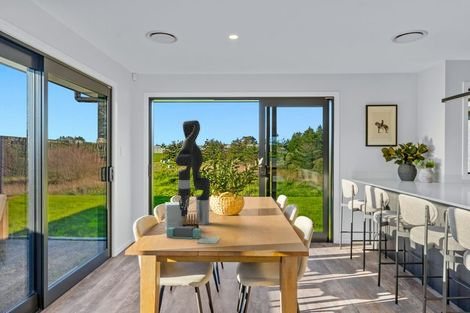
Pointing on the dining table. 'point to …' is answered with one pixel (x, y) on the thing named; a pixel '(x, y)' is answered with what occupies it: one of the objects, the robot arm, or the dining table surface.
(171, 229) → the clamp
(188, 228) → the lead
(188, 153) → the robot arm
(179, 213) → the supplement box
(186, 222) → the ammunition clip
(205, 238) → the mat
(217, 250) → the dining table surface
